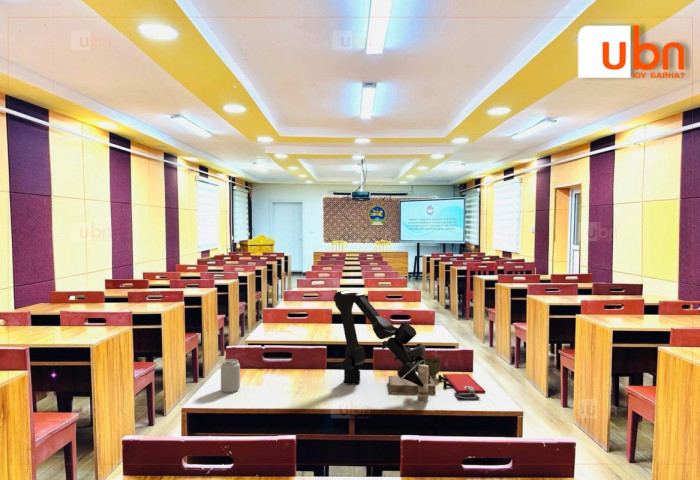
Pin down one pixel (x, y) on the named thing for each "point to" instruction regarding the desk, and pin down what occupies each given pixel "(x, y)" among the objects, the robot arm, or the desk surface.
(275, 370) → the desk surface
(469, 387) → the red board with handle
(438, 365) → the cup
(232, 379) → the can
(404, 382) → the walnut board
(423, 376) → the birch dowel
